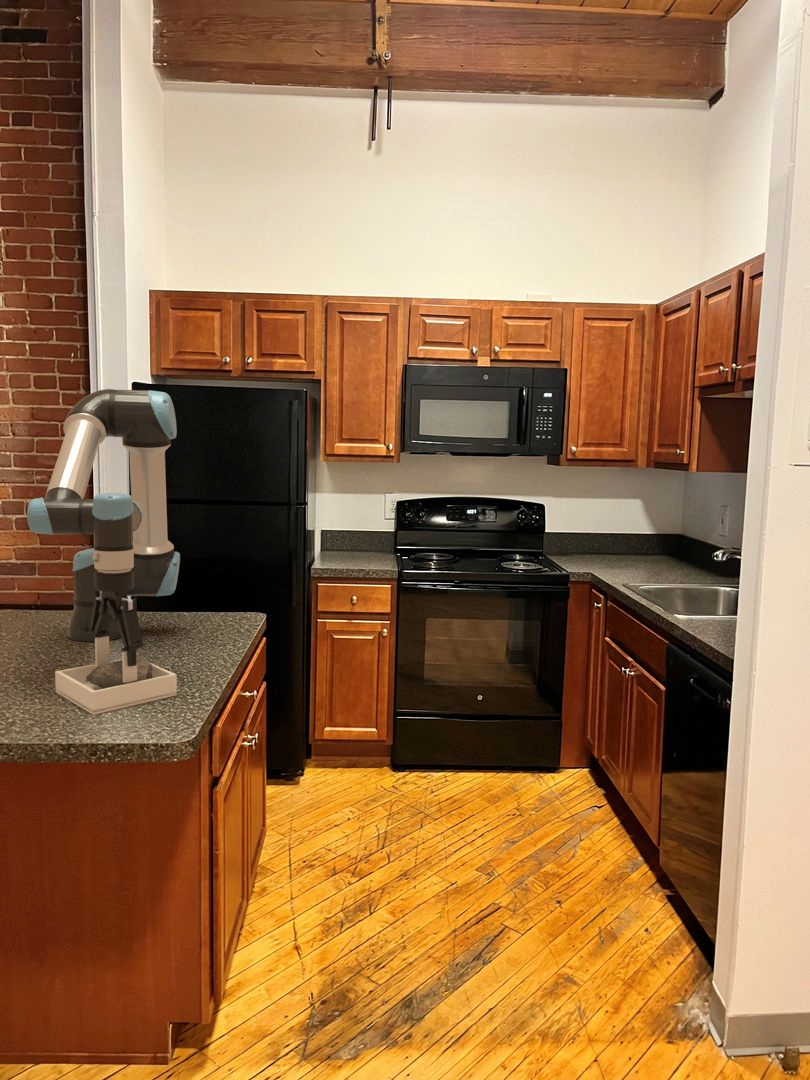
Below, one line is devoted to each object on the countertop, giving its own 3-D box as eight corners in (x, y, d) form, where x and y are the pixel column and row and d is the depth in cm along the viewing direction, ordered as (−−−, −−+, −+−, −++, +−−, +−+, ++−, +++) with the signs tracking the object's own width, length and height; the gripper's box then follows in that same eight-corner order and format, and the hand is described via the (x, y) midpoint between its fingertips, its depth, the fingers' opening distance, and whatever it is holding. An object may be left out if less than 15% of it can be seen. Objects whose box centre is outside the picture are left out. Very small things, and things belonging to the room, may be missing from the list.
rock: (83, 695, 155) (84, 663, 154) (88, 682, 163) (88, 652, 163) (154, 692, 159) (155, 661, 158) (154, 680, 167) (155, 651, 167)
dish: (55, 692, 160) (55, 671, 160) (136, 675, 173) (135, 656, 172) (93, 714, 148) (92, 692, 148) (176, 695, 161) (176, 674, 160)
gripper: (70, 563, 163) (73, 664, 166) (123, 580, 146) (125, 691, 149) (105, 560, 168) (107, 658, 171) (160, 576, 152) (161, 684, 154)
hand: (115, 674), depth 160 cm, fingers open, 12 cm apart
